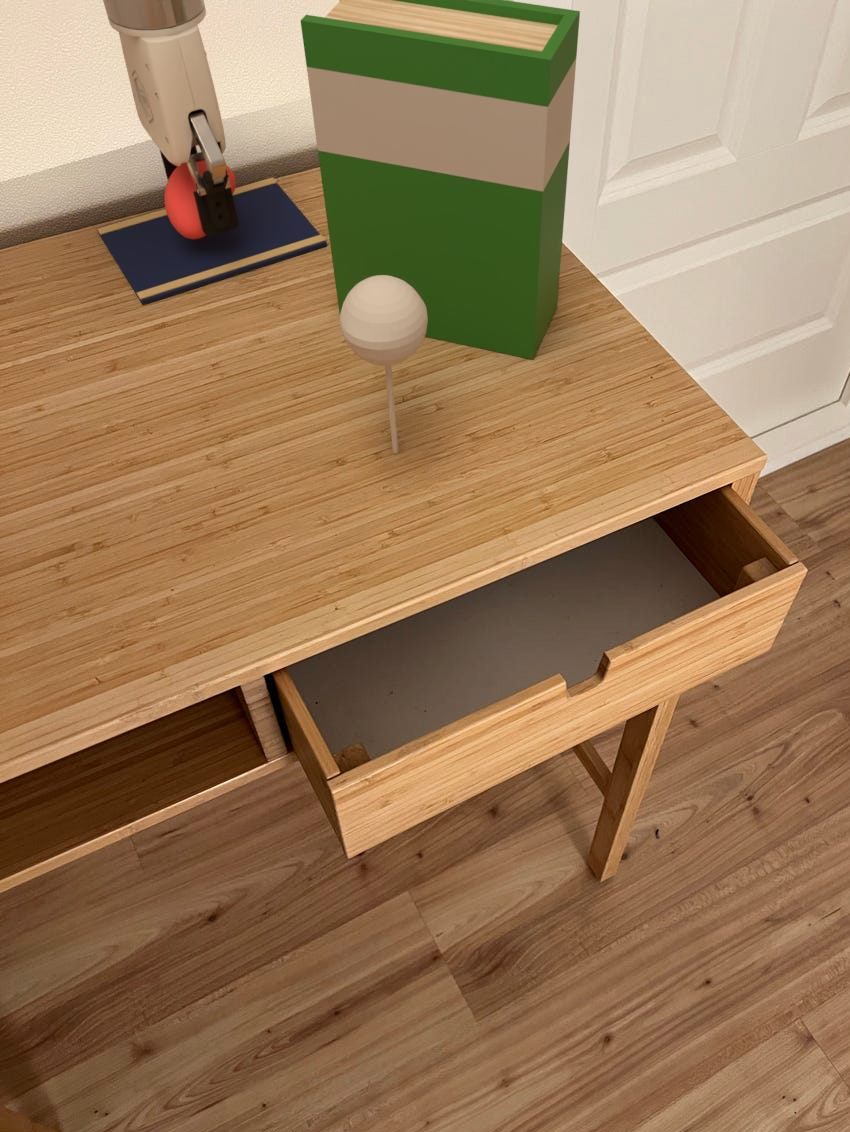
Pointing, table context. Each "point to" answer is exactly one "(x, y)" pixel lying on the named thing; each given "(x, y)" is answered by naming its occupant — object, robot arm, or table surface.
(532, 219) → the hardback book
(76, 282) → the table surface
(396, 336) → the lollipop
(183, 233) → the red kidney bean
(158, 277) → the cloth
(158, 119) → the robot arm
